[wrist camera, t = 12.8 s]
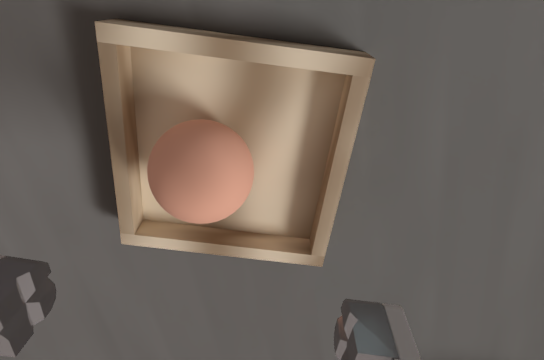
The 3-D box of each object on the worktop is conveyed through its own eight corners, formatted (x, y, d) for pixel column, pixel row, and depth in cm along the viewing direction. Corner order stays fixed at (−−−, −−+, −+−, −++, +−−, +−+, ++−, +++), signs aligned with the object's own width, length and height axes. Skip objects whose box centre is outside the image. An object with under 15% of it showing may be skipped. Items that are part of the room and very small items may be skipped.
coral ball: (278, 124, 16) (212, 157, 12) (267, 210, 18) (208, 261, 15) (197, 98, 18) (117, 121, 14) (196, 180, 20) (127, 218, 16)
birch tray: (365, 51, 16) (375, 59, 14) (318, 244, 22) (322, 266, 20) (116, 18, 16) (94, 21, 14) (135, 223, 22) (121, 243, 20)
